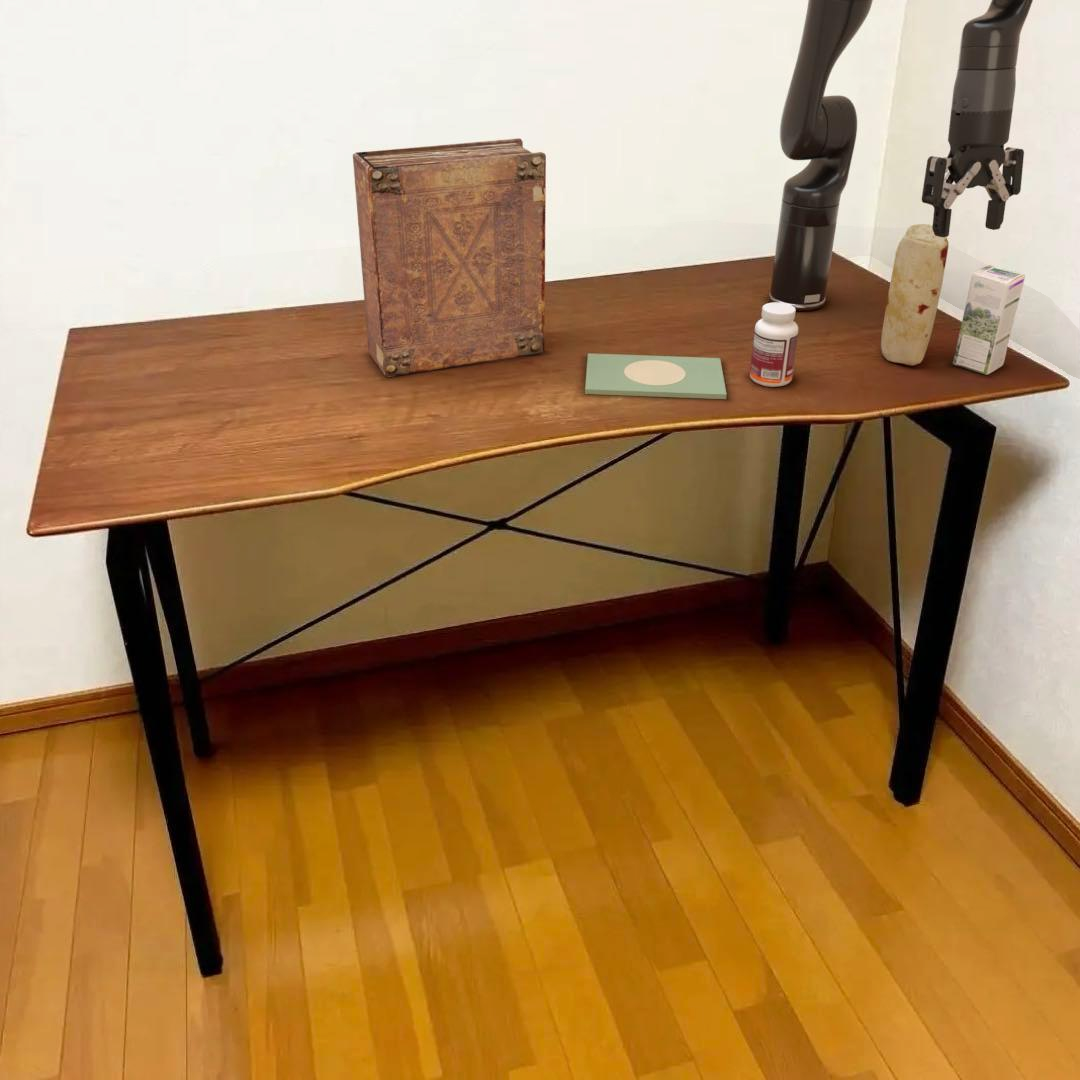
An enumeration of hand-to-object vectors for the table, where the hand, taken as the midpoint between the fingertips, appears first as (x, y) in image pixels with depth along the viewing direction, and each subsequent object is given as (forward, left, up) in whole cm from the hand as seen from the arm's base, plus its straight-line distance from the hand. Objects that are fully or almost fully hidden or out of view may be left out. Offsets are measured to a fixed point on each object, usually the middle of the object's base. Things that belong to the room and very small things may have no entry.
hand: (966, 232), depth 152 cm
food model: (-8, -3, -22) cm, 24 cm away
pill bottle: (+1, -24, -22) cm, 33 cm away
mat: (+3, -41, -22) cm, 47 cm away
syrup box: (-6, +8, -22) cm, 24 cm away
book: (-4, -71, -22) cm, 75 cm away
